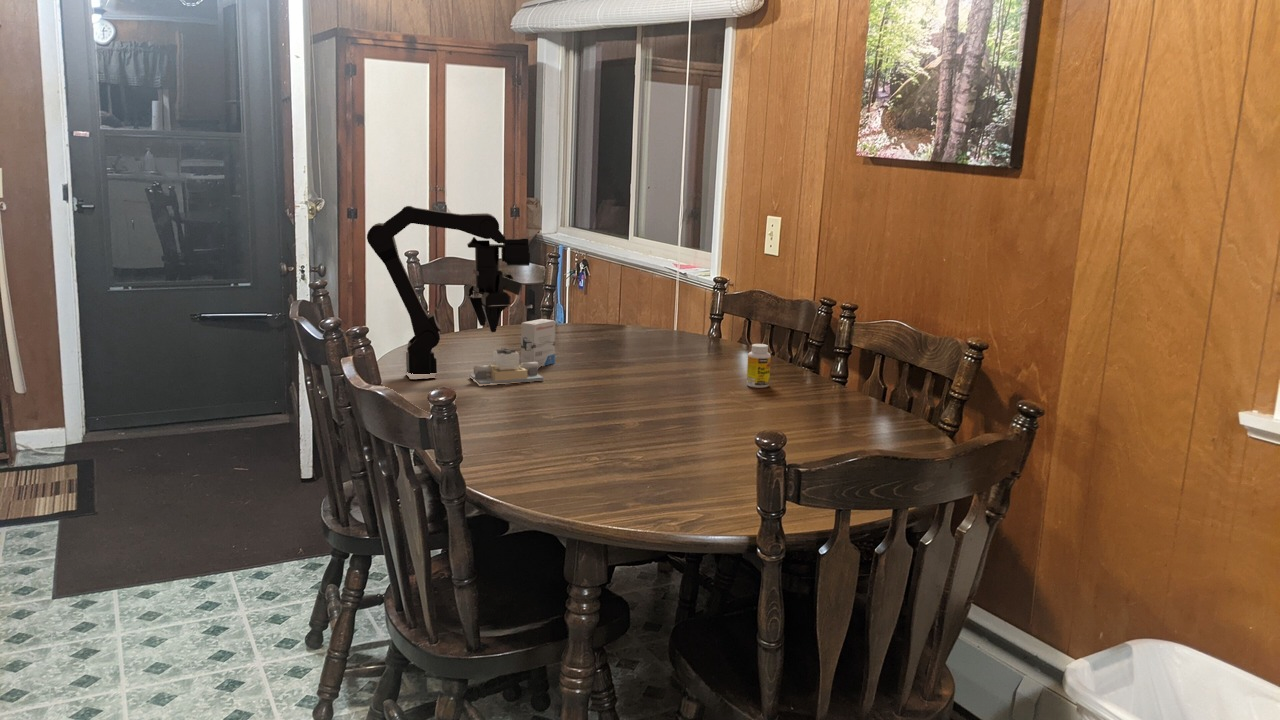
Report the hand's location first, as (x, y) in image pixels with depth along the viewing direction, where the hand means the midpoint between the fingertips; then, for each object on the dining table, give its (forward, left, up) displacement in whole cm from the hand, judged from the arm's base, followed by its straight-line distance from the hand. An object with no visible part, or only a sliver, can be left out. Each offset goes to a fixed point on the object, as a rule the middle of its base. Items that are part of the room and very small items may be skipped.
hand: (487, 328), depth 247 cm
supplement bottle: (+59, -32, -12) cm, 68 cm away
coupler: (+3, -5, -11) cm, 13 cm away
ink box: (+16, +8, -12) cm, 22 cm away
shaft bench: (+3, -5, -12) cm, 14 cm away
